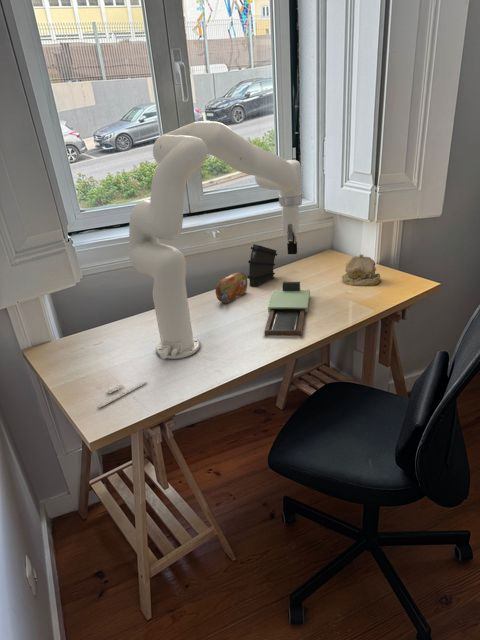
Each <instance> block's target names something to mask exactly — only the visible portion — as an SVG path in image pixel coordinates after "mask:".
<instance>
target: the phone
mask: <svg viewBox="0 0 480 640" xmlns="http://www.w3.org/2000/svg"><path fill="white" fill-rule="evenodd" d="M298 315H299V312H277V313H276V317H275V320H274V324H273V327H272V330H296V326H297V320H298Z"/></svg>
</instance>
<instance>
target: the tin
mask: <svg viewBox="0 0 480 640" xmlns="http://www.w3.org/2000/svg"><path fill="white" fill-rule="evenodd" d="M247 289H248V277H247V276H246V274H245V273H243V272H234V273H231V274H230V275H228V276H226V277H224V278H222V279H220V280H219V281H218V282H217V284H216V286H215V297H216V299H217V301H219V302H221V303H225V304H229V303H231V302H233V301H234V300H236V299H237V297H242V296H243V295H245V293H246V291H247Z"/></svg>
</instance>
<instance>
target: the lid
mask: <svg viewBox="0 0 480 640" xmlns="http://www.w3.org/2000/svg"><path fill="white" fill-rule="evenodd" d="M310 295H311V289H301V281H282V289H273V290H272V294H271V296H270V300H269V304H268V305H267V312H268V313H270V311H271V309H305V313H308V309H309V305H310V304H309V303H310Z"/></svg>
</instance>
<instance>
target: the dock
mask: <svg viewBox="0 0 480 640" xmlns="http://www.w3.org/2000/svg"><path fill="white" fill-rule="evenodd" d="M277 312H299V315H298V320H297V326H296V330H272V327H273V324H274V320H275V317H276V313H277ZM305 314H306V312H305V309H271V311H270V312H269V315H268V318H267V322H266V323H265V324H266V325H265V328H264V336H273V337H274V336H275V337H277V336H280V337H281V336H282V337H283V336H287V337H301V336H302V331H303V325H304V319H305Z"/></svg>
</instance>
